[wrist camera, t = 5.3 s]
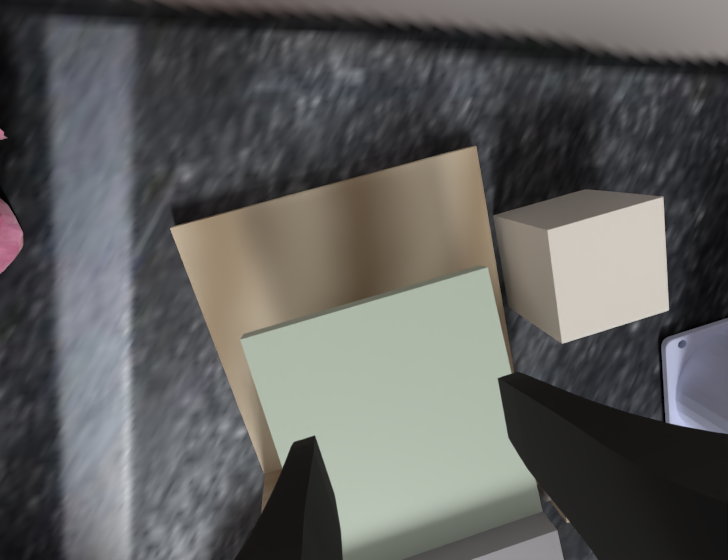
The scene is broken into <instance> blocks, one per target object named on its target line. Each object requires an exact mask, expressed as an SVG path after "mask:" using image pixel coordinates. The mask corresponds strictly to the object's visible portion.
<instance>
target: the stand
mask: <svg viewBox="0 0 728 560" xmlns="http://www.w3.org/2000/svg"><path fill="white" fill-rule="evenodd" d="M170 230H171V232H172V235H173V237H174V240H175V243H176V245H177V248H178V250H179V253H180V256H181V258H182V261H183V263H184V266H185V269H186V271H187V274H188V276H189V279H190V282H191V284H192V287H193V290H194V292H195V295H196V297H197V300H198V303H199V305H200V308H201V310H202V313H203V316H204V318H205V321H206V323H207V326H208V329H209V331H210V334H211V336H212V339H213V342H214V344H215V347H216V349H217V352H218V355H219V357H220V360H221V362H222V365H223V368H224V370H225V373H226V375H227V378H228V381H229V383H230V386H231V388H232V391H233V394H234V396H235V399H236V401H237V404H238V407H239V409H240V412H241V415H242V417H243V420H244V422H245V425H246V428H247V430H248V433H249V435H250V438H251V441H252V443H253V446H254V448H255V451H256V454H257V456H258V459H259V461H260V464H261V467H262V469H263V472H264V474H265V475H264V486H263V497H262V508H261V513H262V511H263V509H264V507H265V506H266V503H267V501H268V499H269V497H270V495H271V493H272V491H273V488H274V486H275V484H276V482H277V480H278V477H279V475H280V473H281V470H282V465H281V462H280V459H279V456H278V453H277V450H276V447H275V444H274V441H273V438H272V435H271V432H270V429H269V426H268V423H267V420H266V417H265V414H264V411H263V408H262V405H261V402H260V399H259V396H258V393H257V390H256V387H255V384H254V381H253V378H252V374H251V371H250V368H249V365H248V362H247V359H246V356H245V353H244V350H243V347H242V344H241V341H240V339H241V337H242V335H243V334H245V333H248V332H252V331H255V330H258V329H262V328H265V327H269V326H272V325H276V324H279V323H282V322H286V321H289V320H293V319H296V318H300V317H303V316H306V315H310V314H313V313H317V312H320V311H324V310H327V309H331V308H334V307H337V306H341V305H344V304H348V303H351V302H355V301H358V300H361V299H365V298H368V297H372V296H375V295H379V294H382V293H385V292H389V291H392V290H396V289H399V288H403V287H406V286H409V285H413V284H416V283H420V282H423V281H427V280H430V279H434V278H437V277H440V276H444V275H447V274H451V273H454V272H458V271H461V270H464V269H468V268H471V267H475V266H478V265H481V266H485V267H488V271H489V275H490V280H491V284H492V288H493V293H494V297H495V302H496V306H497V311H498V315H499V320H500V324H501V329H502V333H503V338H504V342H505V346H506V351H507V355H508V360H509V364H510V369H511V373H514V368H513V362H512V356H511V350H510V344H509V338H508V332H507V326H506V320H505V314H504V308H503V302H502V296H501V291H500V285H499V279H498V273H497V267H496V261H495V255H494V249H493V243H492V237H491V231H490V225H489V219H488V213H487V207H486V201H485V195H484V189H483V184H482V178H481V172H480V166H479V160H478V154H477V148H476V146H470V147H466V148H462V149H458V150H455V151H451V152H447V153H443V154H440V155H436V156H432V157H429V158H425V159H421V160H417V161H414V162H410V163H406V164H402V165H399V166H395V167H391V168H388V169H384V170H380V171H376V172H373V173H369V174H365V175H361V176H358V177H354V178H350V179H347V180H343V181H339V182H335V183H332V184H328V185H324V186H321V187H317V188H313V189H309V190H306V191H302V192H298V193H294V194H291V195H287V196H283V197H280V198H276V199H272V200H268V201H265V202H261V203H257V204H253V205H250V206H246V207H242V208H239V209H235V210H231V211H227V212H224V213H220V214H216V215H212V216H209V217H205V218H201V219H198V220H194V221H190V222H186V223H183V224H179V225H175V226H173V227H171V228H170ZM535 480H536V479H535ZM536 483H537V484H538V485H537V487H538V491H539V493H540V495H541V497H542V499H543V500H544V501H545V502H547V501H549V500H550V501H551V503H552V504H553V505H554V507H555V508H556V509H557V511H558V512H559V513H560V515H561V516H562V517H563V519H564V520H565V521H566V523H568V522H569V520H568V519H567V518H566V517H565V515H564V514H563V513H562V512H561V510H560V509H559V508H558V507H557V505H556V504H555V503H554V502H553V501H552V499H551V498H550V497H549V496H548V494H547V493H546V492H545V491H544V489H543V488H542V487H541V486H540V484H539V483H538V482H537V481H536Z"/></svg>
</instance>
